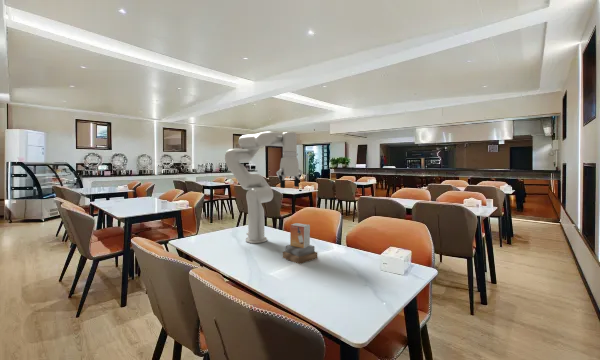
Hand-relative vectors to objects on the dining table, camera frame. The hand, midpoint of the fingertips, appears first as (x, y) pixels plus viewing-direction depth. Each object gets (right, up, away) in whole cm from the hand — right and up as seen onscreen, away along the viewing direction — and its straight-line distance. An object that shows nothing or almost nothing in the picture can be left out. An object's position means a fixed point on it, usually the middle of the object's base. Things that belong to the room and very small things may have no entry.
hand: (289, 187), depth 158 cm
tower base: (+6, -34, -14) cm, 38 cm away
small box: (+6, -29, -14) cm, 32 cm away
